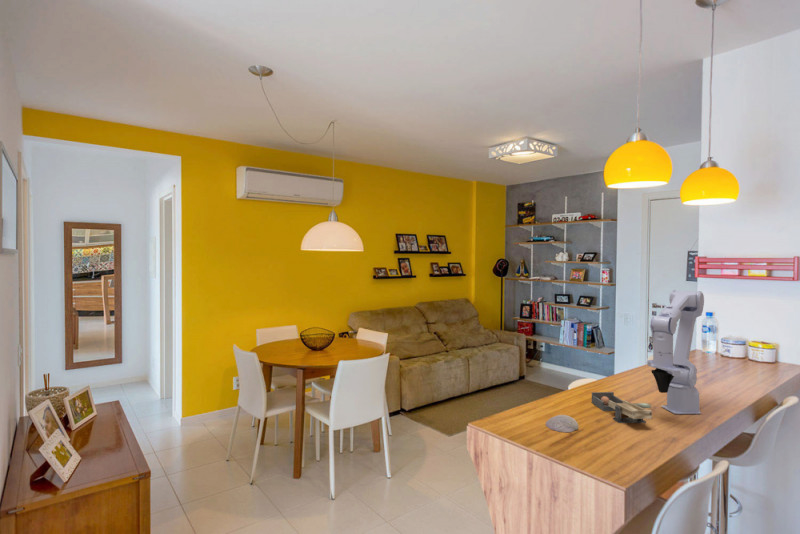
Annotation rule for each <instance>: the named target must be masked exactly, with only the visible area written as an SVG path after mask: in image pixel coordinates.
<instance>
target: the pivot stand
mask: <svg viewBox="0 0 800 534" xmlns="http://www.w3.org/2000/svg"><path fill="white" fill-rule="evenodd" d="M637 406H639V405H637ZM639 407H641V406H639ZM641 408H643V407H641ZM643 409H644V408H643ZM612 420H613V421H614V422H617V424H646V423H647V421H646V420H644V419H633V418H631V417H629V416H628V417H627V416H626V417H622V413H621V408H620V407H619V406H615V411H614V417H612Z"/></svg>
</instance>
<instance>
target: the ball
mask: <svg viewBox="0 0 800 534" xmlns="http://www.w3.org/2000/svg"><path fill="white" fill-rule="evenodd" d="M601 400H602V401H603V402H604V406H608V405H609V403H608V400H609V398H608V397H606V396H603V397H602V398H601Z"/></svg>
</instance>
